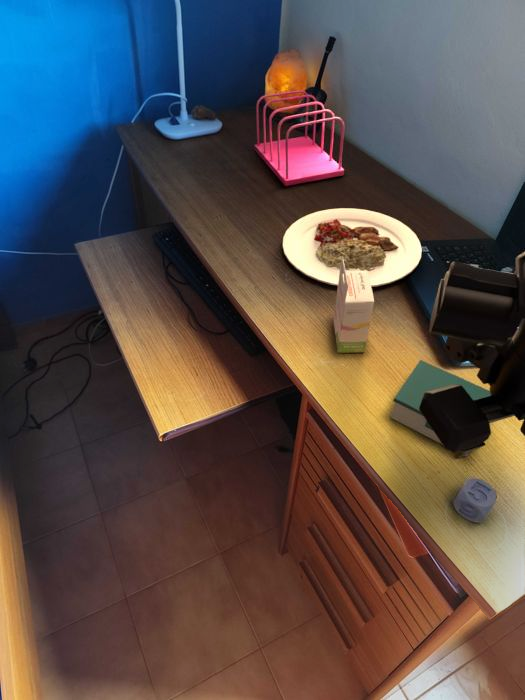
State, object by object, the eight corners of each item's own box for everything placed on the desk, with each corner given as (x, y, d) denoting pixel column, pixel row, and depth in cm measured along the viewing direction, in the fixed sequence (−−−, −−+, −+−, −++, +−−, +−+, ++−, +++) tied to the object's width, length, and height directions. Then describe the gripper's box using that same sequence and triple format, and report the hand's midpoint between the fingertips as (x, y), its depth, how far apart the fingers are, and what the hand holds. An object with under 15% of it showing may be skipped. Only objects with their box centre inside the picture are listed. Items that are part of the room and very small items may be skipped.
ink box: (365, 353, 81) (379, 287, 71) (337, 353, 82) (346, 287, 71) (359, 320, 87) (370, 254, 77) (332, 320, 88) (340, 254, 77)
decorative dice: (490, 504, 62) (501, 490, 59) (479, 527, 60) (489, 514, 57) (462, 487, 64) (470, 472, 61) (449, 508, 62) (458, 494, 59)
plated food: (387, 312, 89) (390, 298, 86) (256, 264, 100) (256, 250, 98) (438, 237, 106) (442, 224, 103) (321, 203, 117) (322, 191, 115)
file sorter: (285, 187, 124) (285, 126, 112) (254, 150, 140) (252, 93, 129) (343, 175, 127) (350, 115, 116) (307, 141, 144) (309, 85, 133)
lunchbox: (489, 413, 72) (501, 393, 68) (466, 461, 66) (477, 442, 63) (414, 378, 77) (421, 357, 74) (386, 419, 72) (392, 399, 68)
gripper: (568, 276, 49) (514, 373, 60) (408, 314, 45) (382, 409, 57) (659, 349, 41) (577, 444, 53) (475, 401, 38) (430, 491, 49)
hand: (489, 444), depth 53 cm, fingers open, 9 cm apart
